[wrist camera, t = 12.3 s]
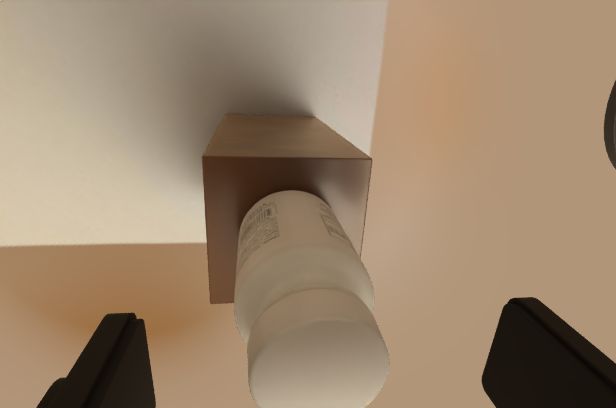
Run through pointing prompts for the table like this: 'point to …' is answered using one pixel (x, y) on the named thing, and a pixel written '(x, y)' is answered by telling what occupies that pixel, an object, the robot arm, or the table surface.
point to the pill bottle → (305, 308)
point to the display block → (275, 181)
